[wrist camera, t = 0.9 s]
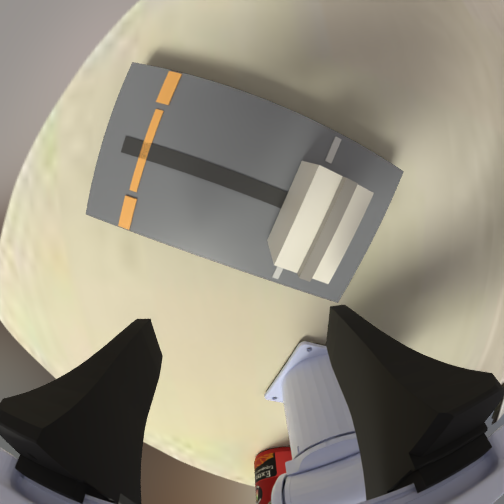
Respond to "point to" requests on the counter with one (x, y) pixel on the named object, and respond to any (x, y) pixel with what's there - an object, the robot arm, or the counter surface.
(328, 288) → the fader console
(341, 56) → the counter surface
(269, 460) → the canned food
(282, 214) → the fader knob
